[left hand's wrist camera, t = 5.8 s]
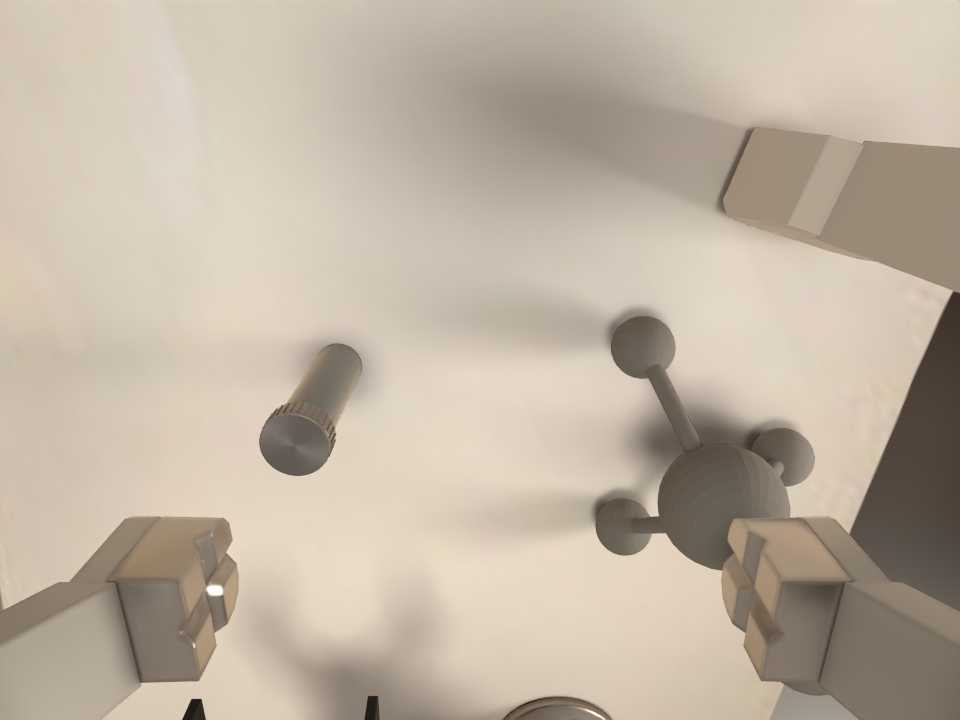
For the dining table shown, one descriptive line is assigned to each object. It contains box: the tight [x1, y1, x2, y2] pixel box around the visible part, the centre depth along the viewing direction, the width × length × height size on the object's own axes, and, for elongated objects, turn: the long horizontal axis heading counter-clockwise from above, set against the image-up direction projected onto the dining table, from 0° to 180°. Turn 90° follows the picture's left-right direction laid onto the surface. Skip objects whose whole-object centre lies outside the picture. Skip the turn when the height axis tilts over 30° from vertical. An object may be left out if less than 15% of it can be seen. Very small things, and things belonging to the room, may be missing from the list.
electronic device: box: [723, 128, 960, 293], centre depth 41 cm, size 12×8×30 cm, turn 73°
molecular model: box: [596, 316, 829, 696], centre depth 50 cm, size 24×22×30 cm
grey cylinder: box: [286, 344, 362, 428], centre depth 54 cm, size 4×4×15 cm
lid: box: [259, 401, 336, 476], centre depth 47 cm, size 5×5×2 cm
